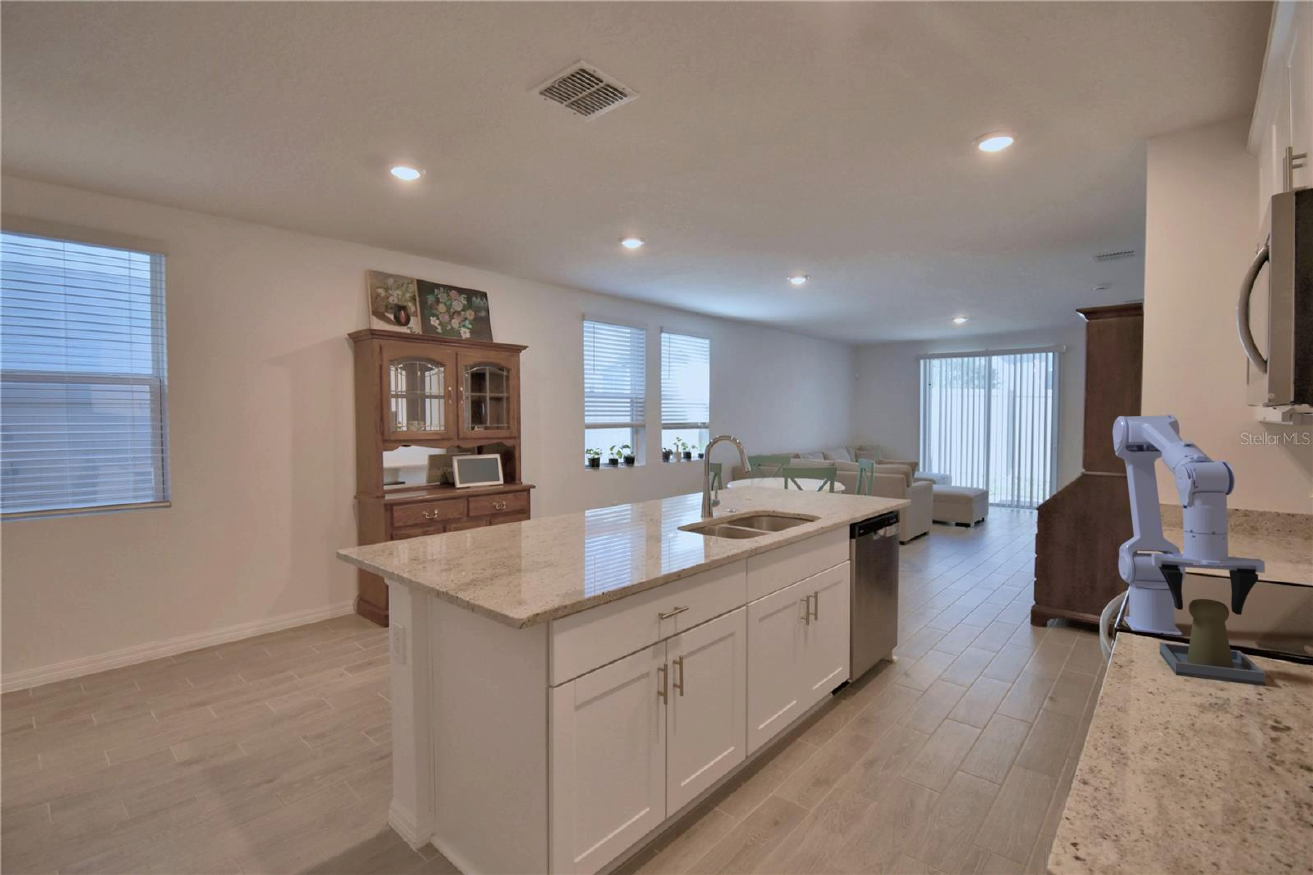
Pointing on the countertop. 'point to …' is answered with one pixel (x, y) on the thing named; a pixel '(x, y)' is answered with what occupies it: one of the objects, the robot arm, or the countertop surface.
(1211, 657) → the cork
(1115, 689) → the countertop surface
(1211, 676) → the tray
